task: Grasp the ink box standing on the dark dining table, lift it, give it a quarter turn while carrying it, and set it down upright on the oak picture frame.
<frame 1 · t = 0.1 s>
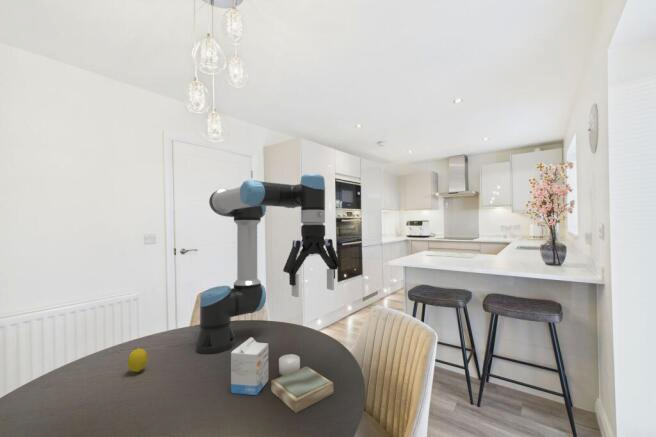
hand: (313, 292, 87), 28 cm above the table, fingers open, 13 cm apart
ink box: (250, 387, 85), on the table
white domed cylinder: (289, 371, 94), on the table
oak picture frame: (302, 392, 82), on the table
lemon: (137, 372, 94), on the table
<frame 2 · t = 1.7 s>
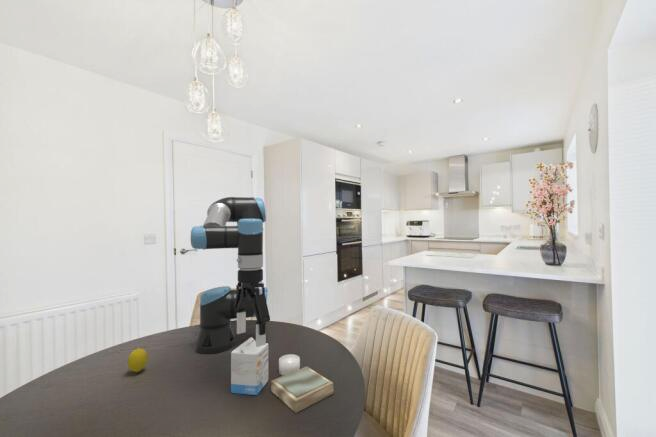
hand: (250, 338, 85), 14 cm above the table, fingers open, 13 cm apart
nothing on the table moved.
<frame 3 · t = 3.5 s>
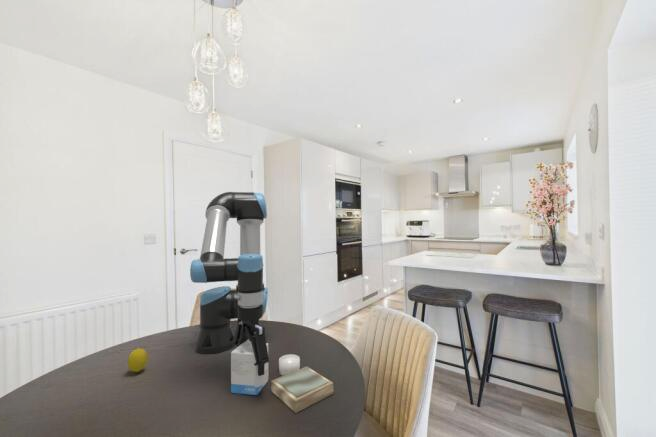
hand: (250, 377, 85), 3 cm above the table, fingers closed on ink box, 11 cm apart
ink box: (250, 386, 85), on the table, touching gripper
everything else where it was.
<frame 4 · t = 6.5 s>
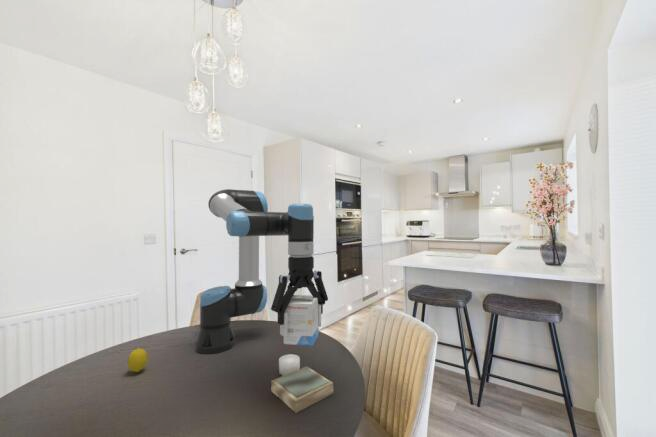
hand: (301, 330, 82), 18 cm above the table, fingers closed on ink box, 11 cm apart
ink box: (301, 340, 82), point 15 cm above the table, touching gripper
everything else where it was.
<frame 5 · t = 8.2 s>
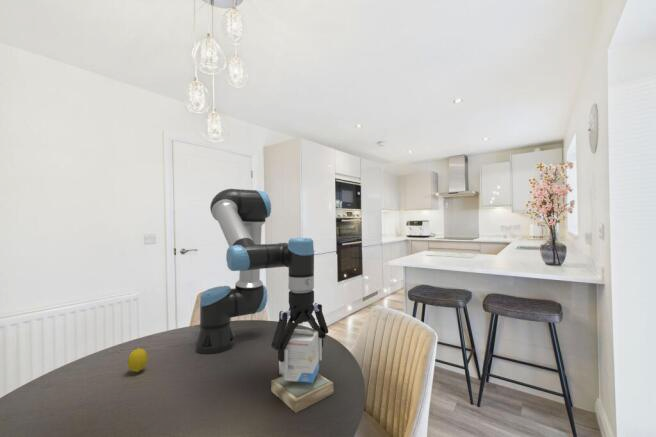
hand: (301, 365, 82), 8 cm above the table, fingers closed on ink box, 11 cm apart
ink box: (302, 375, 82), point 5 cm above the table, touching gripper
everything else where it was.
when the fingers open (7 cm above the table, at t = 9.4 s): ink box drops 1 cm, resting on oak picture frame.
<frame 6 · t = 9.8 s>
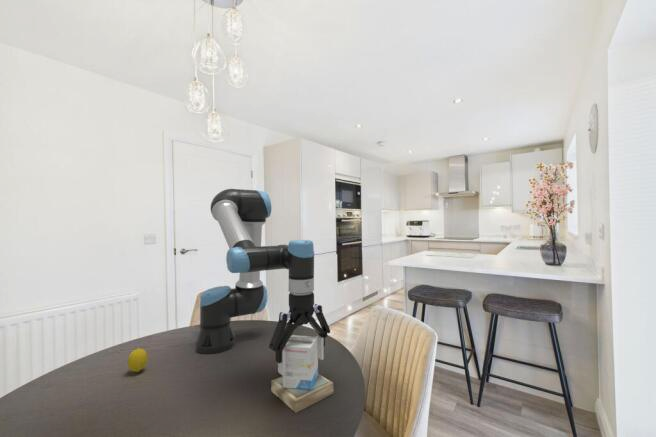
hand: (301, 365, 82), 8 cm above the table, fingers open, 13 cm apart
ink box: (301, 381, 82), point 3 cm above the table, touching oak picture frame
everything else where it was.
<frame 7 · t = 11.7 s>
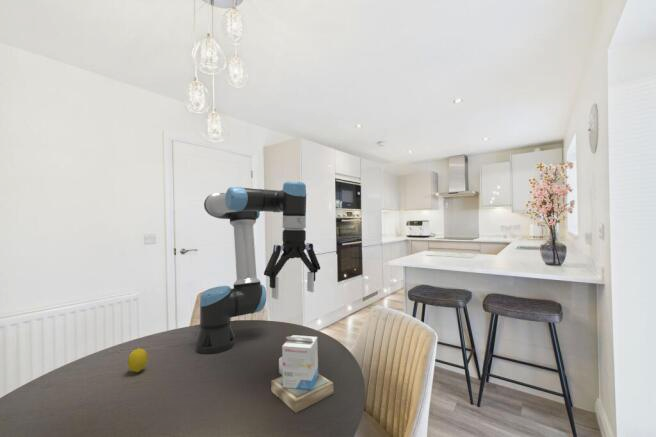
hand: (293, 294, 91), 26 cm above the table, fingers open, 13 cm apart
nothing on the table moved.
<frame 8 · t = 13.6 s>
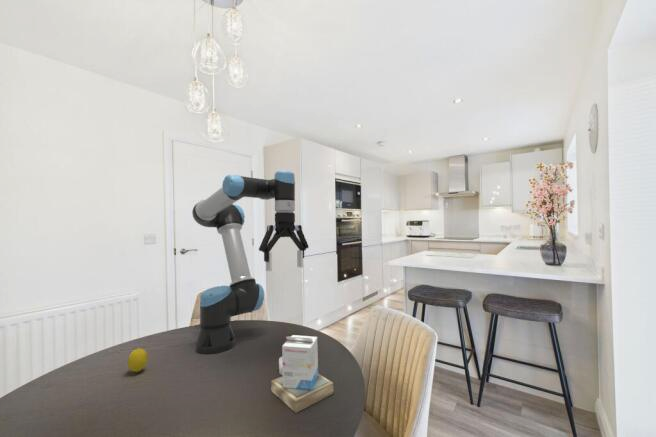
hand: (285, 269, 105), 33 cm above the table, fingers open, 13 cm apart
nothing on the table moved.
at the end: ink box inside the target area on the oak picture frame (0.3 cm from its centre), point 3.0 cm above the oak picture frame's base; ink box tilted 0°; the gripper is holding nothing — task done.
